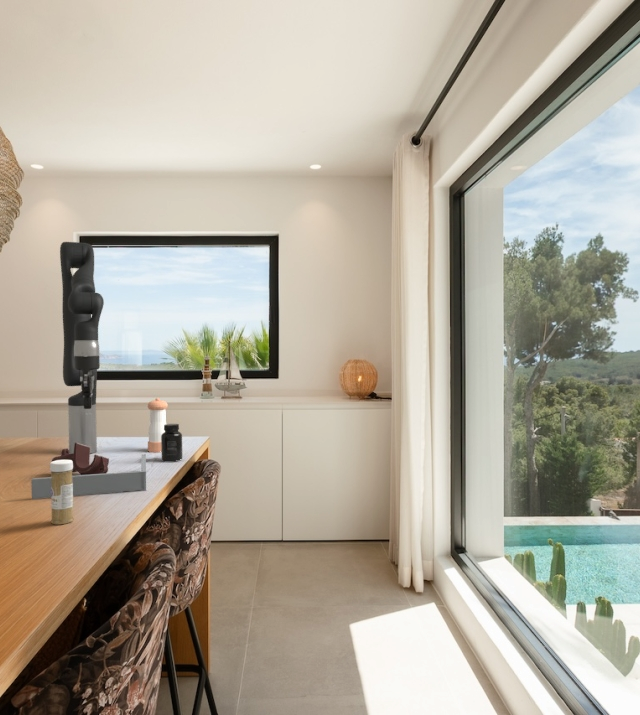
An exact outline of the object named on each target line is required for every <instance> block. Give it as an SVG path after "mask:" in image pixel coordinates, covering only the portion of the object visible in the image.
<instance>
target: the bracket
mask: <svg viewBox="0 0 640 715" xmlns="http://www.w3.org/2000/svg"><path fill="white" fill-rule="evenodd" d="M60 452H61V454H60V455H59V456H55V457H53V458H52V459H51V462H52V461H56V460H72V461H73V469H72V474H73V473H76V472H78V474H79V475H90V474H105V473H109V467H108V466H109V464H110V463H109V462H110V458H108V457H106V456H102V455H99V454H94V456H93V460H92V462H91V463H90V460H91V458H90V457H91V456H90V454H91V453H90V447H88V446H85V445H82V444H79V443H75V444H74V453H73V454H70V453H69V448H62V449H61V451H60ZM51 462H50V463H51Z"/></svg>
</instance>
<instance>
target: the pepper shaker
mask: <svg viewBox="0 0 640 715" xmlns="http://www.w3.org/2000/svg"><path fill="white" fill-rule="evenodd" d="M168 406H169V405H168V403H167V401H165V400H162V399H160V397H158V398H157V397H156V398H155V400H151V401H149V402H148V404H147V408H148V410H149V413H150V414H149V425H148V426H149V427H148V441H147V452H148V451H149V452H148V453H161V452H160V451H161V435H162V434H163V433H164V432H165V430H164V425H165V424H167V419H166V418H167V417H166V416H167V414H166V410H167V409H168Z"/></svg>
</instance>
